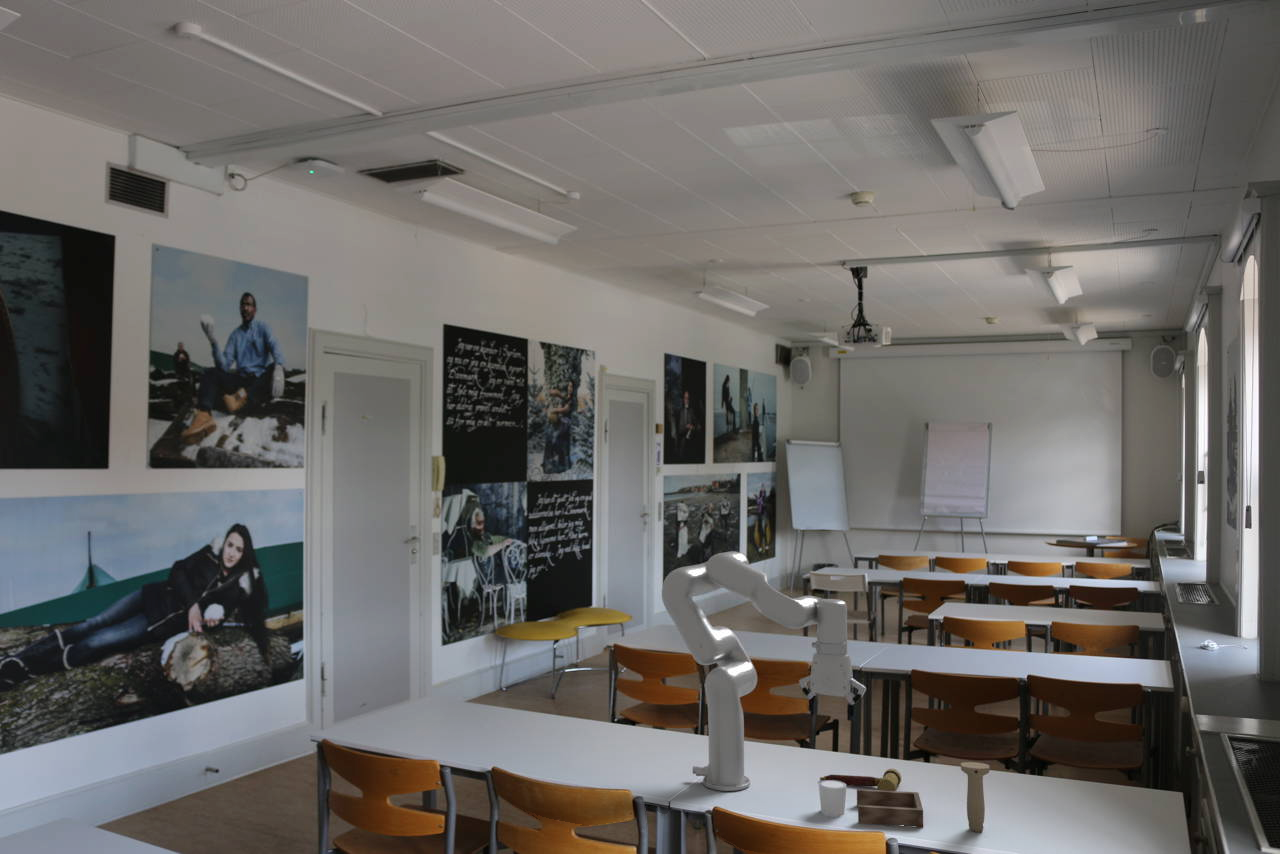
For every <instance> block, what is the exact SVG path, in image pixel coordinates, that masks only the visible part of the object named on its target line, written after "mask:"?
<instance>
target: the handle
mask: <svg viewBox="0 0 1280 854" xmlns="http://www.w3.org/2000/svg"><path fill="white" fill-rule="evenodd" d="M990 769H991V768H990V765H989V764H987V763H984V762H983V763H982V762H975V761H972V762H971V761H969V762H968V761H965V762H964V761H963V762H961V763H960V770H961V771H962V772H963V773H964V774H966V776H967V792H966V815H967V821H968V828H969V830H970V831H971V832H972V831H973V832H976V833H978V832H983V831H984V827H985V826H984V823H985V812H986V811H985V809H986V808H985V805H986V804H985V794H984V793H985V792H984V776H985V775H988V774H989V773H990V771H991V770H990Z"/></svg>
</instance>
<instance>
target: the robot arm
mask: <svg viewBox="0 0 1280 854" xmlns="http://www.w3.org/2000/svg"><path fill="white" fill-rule="evenodd" d="M723 588H724V589H725V590H727V591H729V592H731V593H734V594H735V595H737V596H739V597H741V598H743V599H744V600H746V601H748V602H750V603H751V604H752V606H753V607H754V608H755V610H757V611H758V612H759V613H761V614H762V615H763V616H764V617H766V618H767V619H770V620H772V621H773V622H775V623H777V624H778V625H781V626H782V627H785V628H788V629H792V630H799V629H802V628H805V627H808V626H809V627H810V626H813V625H816V641H815V642H813V641H812V642H811V648H814V649H815V651H816V652H814V653H813V655H812V662H811V668H810V669H811V670H810V675H808V676H806V677H802V678H801V679H799V680H798V683H799V685H800V688H801V689H802V690H801V691H802V692H803V693H804V695H805V696H806V698H807V699H808V711H809V712H810V716H812V717H813V716H815V715H816V714H818V697H816V696H817V695H824V696H831V697H838V698H839V697H840V698H841V697H843V698H845V699H846V700H847V702H848V704H847V705H846V707H847V709H846V710H847V711H846V712H847V718H846V719H847V721H850V722H851V721H852V720H853V719H854V718H855V717H856V715H857V714H856V713H857V711H856V710H857V708H856V704H857V702H859V700H861V699H862V697H863V696H864V694H865V693H866V691H867V687H866V686H865V685H864V684H862V683H860V682H859V681H857V680H856V679H855V678H854V677H853V676H854V675H853V666H852V660H851V655H850V654H848V604H847V603H846V602H845V600H842V599H838V598H837V599H836V598H822V597H819V596H818V597H817V596H813V595H802V596H799V597H794V598H792V597H790V596H788V595H785V594H783V593H781V592H780V591H777V590H776V589H775V588H773V587H772V586H771V585H770V584H769V577H768V575H767V573H765V572H764V571H761V570H760V569H757V568H756V567H753V566H751V565H750V562H749V560H748V558H747V557H746V556H745V555H744V554H743V553H741V552H739V551H733V550H732V551H726V552H719V553H716V554H713V555H711V557H710V558H709V559H708V560H707V561H705V562H702V563H699V564H694V565H687V566H681V567H678V568H676V569H674V570H671V572H669V573H668V575H667V576H666V577H665V579H664V580H663V584H662V586H661V599H662V603H663V605H664V609H665V610H666V612H667V613H668V615H669V616H670V618H671V619H672V622H673V623H674V624H675V627H676V629H677V630H678V632H679V634H680V636H681V638H682V639H683V642H684V643H685V644H686V647H687V649H688V650H689V653H690V654H691V656H692V657H693V659H694V661H695V662H696V663H697V664H699V665H701V666H710V665H713V664H717V666H716V667H714V668H713V669H712V670H710V672H709V673H708V674H707V676H706V679H705V681H704V682H705V683H704V691H705V696H706V697H705V698H706V702H707V703H706V705H707V713H708V714H707V715H708V716H707V717H708V718H707V719H708V720H707V722H708V724H707V725H708V764H707V765H704V766H694V765H693V766H692V774H693V775H695V776H696V777H703V779H702V784H703V785H704V786H705V787H706V788H708V789H711V790H713V791H714V790H715V791H719V792H720V791H721V792H735V791H741V790H745V789H747V788H749V787H750V785H751V779H750V778H749V777H747V776H746V775H745V725H744V724H745V721H744V717H745V716H744V710H743V708H742V702H741V699H740V698H741V697H743V696H746V695H748V694H750V693H752V692H753V691H754V689H756V686H757V683H758V674H757V669H756V668H755V666H754V664H753V662H752V660H751V658H750V657H749V655H748V653H747V651H746V650H745V648H744V647H743V645H742V643H741V641H740V640H739V638H738V636H737V635H736V633H735V632H734V631H732V630H731V629H730V628H729V627H726V626H723V625H717V626H716V625H715V626H712V624H711V622H710V621H709V619H708V618H707V616H706V614H705V612H704V611H703V610H702V608H701V607H700V606H699V605H698V604H697V603H696V602H695V600H693V597H698V596H701V595H706V594H708V593H709V594H710V593H712V592H714V591H718V590H720V589H723ZM808 682H810V683H809V686H808V684H807V683H808ZM854 688H856V689H857V690H858V692H857V694H854V692H853V691H854Z"/></svg>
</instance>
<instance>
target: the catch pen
mask: <svg viewBox="0 0 1280 854" xmlns="http://www.w3.org/2000/svg"><path fill="white" fill-rule="evenodd" d="M921 801H922V800H921V797H920V794H919V792H917V791H904V790H902V791H901V790H896V791H885V790H878V789H866V788H865V789H863V788H856V807H857V823H858V824H861V825H878V826H890V825H904V826H903V827H906V826H917V827H916V828H922V827H923V828H924V809H923V806H922V805H923V804H922V802H921Z"/></svg>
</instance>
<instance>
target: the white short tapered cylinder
mask: <svg viewBox="0 0 1280 854" xmlns="http://www.w3.org/2000/svg"><path fill="white" fill-rule="evenodd" d="M847 786H848V785H846V784H845V783H844V782H841V781H836V780H824V781H821V780H820V781H819V782H818V791H819V802H820V812H821V814H822V815H823V816H827V817H842V816H843V815H845V810H846V798H847V797H846V796H847Z"/></svg>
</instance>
